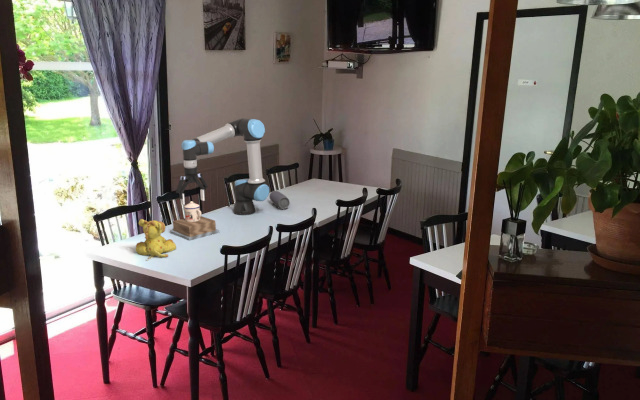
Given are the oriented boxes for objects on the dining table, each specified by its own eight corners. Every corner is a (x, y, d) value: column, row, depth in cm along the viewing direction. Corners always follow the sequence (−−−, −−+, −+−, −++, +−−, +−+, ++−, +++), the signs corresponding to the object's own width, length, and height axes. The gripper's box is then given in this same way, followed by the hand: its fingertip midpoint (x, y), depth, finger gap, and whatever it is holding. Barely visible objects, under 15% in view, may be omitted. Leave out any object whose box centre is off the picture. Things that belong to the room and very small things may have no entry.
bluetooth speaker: (290, 209, 365) (290, 195, 363) (278, 211, 362) (277, 197, 360) (281, 202, 386) (280, 189, 384) (268, 203, 383) (268, 190, 380)
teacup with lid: (181, 221, 312) (180, 202, 309) (193, 217, 319) (192, 199, 316) (195, 224, 305) (194, 204, 302) (207, 220, 312) (205, 201, 310)
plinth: (199, 225, 328) (199, 214, 326) (219, 232, 314) (218, 220, 312) (170, 233, 313) (169, 221, 312) (189, 240, 299) (188, 228, 297)
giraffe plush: (178, 245, 291) (176, 212, 287) (169, 260, 268) (166, 224, 264) (141, 246, 290) (138, 213, 285) (129, 261, 267) (125, 225, 262)
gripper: (174, 170, 293) (177, 207, 298) (212, 164, 310) (214, 199, 315) (168, 169, 298) (170, 205, 303) (205, 163, 315) (207, 197, 320)
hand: (192, 202), depth 309 cm, fingers open, 13 cm apart
